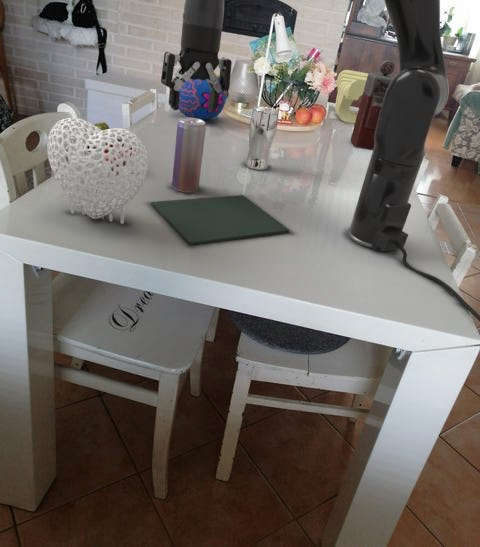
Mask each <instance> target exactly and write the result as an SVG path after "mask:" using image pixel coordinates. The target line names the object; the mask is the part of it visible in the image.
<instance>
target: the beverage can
mask: <svg viewBox="0 0 480 547" xmlns="http://www.w3.org/2000/svg"><path fill="white" fill-rule="evenodd" d="M206 129H207V128H206V121H205V120H204V121H203V120H200V119H196V118H190V117H187V116H184V117H182V116H181V117H179V118H178V122H177V123H176V135H175V146H174V156H173V157H174V158H173V166H172V167H173V168H172V180H171V185H172V187H173V189H174V190H175V191H177V192H180V193H185V194H192V193H196V192H197V191H198V190H199V188H200V180H201V171H202V163H203V154H204V146H205V138H206Z"/></svg>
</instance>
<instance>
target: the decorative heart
mask: <svg viewBox="0 0 480 547" xmlns="http://www.w3.org/2000/svg"><path fill="white" fill-rule="evenodd" d="M115 131H117V132H115ZM77 134H78V135H77ZM117 134H119V135H117ZM65 137H66V138H65ZM107 138H108V139H107ZM117 139H122V142H118V141H117ZM60 140H61V142H60ZM74 140H76V141H77V142H75V141H74ZM81 140H83V141H84V142H82V141H81ZM106 143H108V145H107V146H106ZM46 144H47V145H46V151H47V152H46V153H47V157H48V162H49V166H50V168H51V171H52V173H53V175H54V177H55V180H56V182H57V183H58V185H59V186H60V187H61V189H62V191H63V192H64V193H65V195H66V196H67V197H68V198H69V200H70V214H73V215H74V214H75V205H76V206H77V207H78V208H79V209H80V211H81V215H82V216H85V215H87V216H88V217H90V218H91V219H94V220H99V219H102V220H104V217H106V216H108V221H109V222H113V216H114V215H113V214H112V213H115V212H116V211H118V210H120V224H122V225H124V223H125V210H124V208H123V207H125V206H126V205H127V204H129V203H130V202H131V201H132V200H133V199H134V198H135V197H136V196H137V195H138V194H139V192H140V190H141V188H143V185H144V183H145V181H146V179H147V175H148V171H149V155H148V152H147V148H146V146H145V145H144V143H143V142H142V140H141V139H140V138H139V137H138V135H136V134H135V133H133V131H131V130H128V129H125V128H122V127H121V128H120V127H112V128H110V129H107V130H104V131H102V130H101V129H99V128H98V127H96V126H95V125H94V124H93V123H92V122H89V121H87V120H85V119H83V118H79V117H68V118H62V119H60V120H58V121H57V122H56V123H55V124H54V125H53V126H52V127H51V129H50V130H49V134H48V137H47V142H46ZM122 144H124V146H123V147H122ZM110 145H113V147H110ZM115 145H116V146H115ZM80 147H82V148H83V149H81V148H80ZM88 147H89V148H88ZM129 147H130V148H131V147H132V150H129V149H130V148H129ZM105 149H106V150H109V152H108V153H107V154H105V153H104V151H105ZM126 150H127V153H126V152H125V151H126ZM135 150H136V152H135ZM115 151H116V152H115ZM119 152H121V153H120V154H118V153H119ZM84 153H85V154H86V156H85V155H84ZM130 153H132V154H131V155H133V157H132V156H131V157H130ZM122 155H124V156H123V157H122ZM97 156H98V157H99V159H98V158H97ZM125 156H126V158H125ZM118 157H119V158H120V159H119V158H118ZM106 158H107V159H109V161H106ZM114 158H115V159H116V161H115V160H114ZM111 161H112V163H113V164H111ZM125 161H126V163H125V164H124V165H123V162H125ZM117 164H118V165H119V167H117V166H116V165H117ZM111 168H113V170H114V171H113V170H112V169H111ZM117 173H118V175H117ZM91 179H92V180H93V181H94V184H92V182H91ZM105 181H106V182H105ZM98 191H99V192H98ZM83 201H85V203H84V202H83ZM100 202H101V203H100Z"/></svg>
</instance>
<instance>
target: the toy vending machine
mask: <svg viewBox="0 0 480 547" xmlns="http://www.w3.org/2000/svg"><path fill="white" fill-rule="evenodd" d="M379 71H380V73H379V72H378V73H377V72H369V73H368V77H367V80H366V84H365V88H364V91H363V95H362V96H361V99H360V103H359V107H358V111H357V117H356V121H355V123H354V124H353V128H352V132H351V136H350V140H349V141H350V143H351V144H352V146H353V147H354V148H357V149H364V150H370V151H373V149H374V145H375V140H374V136H375V130H376V126H377V122H378V118H379V115H380V111H381V107H382V103H383V100H384V96H385V94H386V91H387V88H388V86H389V84H390V83H391V81H392V80H393V78H394V77H395V76H393V75H391V74H393V73H394V71H395V64H394V62H392V60H387V59H386V60H384V61H382V62H381V63H380V65H379Z"/></svg>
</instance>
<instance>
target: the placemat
mask: <svg viewBox="0 0 480 547" xmlns="http://www.w3.org/2000/svg"><path fill="white" fill-rule="evenodd" d="M150 205H151V206H152V207H153V209H155V210H156V211H157V213H158V214H160V216H161V217H162V218H163V219H164V220H165V221H166V222H167V223H168V224H169V225H170V227H172V228H173V229H174V231H175V232H177V234H179V236H181V238H182V239H183V240H184V241H185V242H186V243H187V244H188V245H189V246H195V245H196V246H197V245H201V244H202V245H203V244H209V243H219V242H225V241H226V242H227V241H233V240H242V239H249V238H257V237H265V236H272V235H281V234H288V233H290V229H289V228H288V227H287V226H285V225H284V224H282V223H281V222H280V221H279V220H277V219H276V218H274V217H273V216H272V215H270V214H269V213H267V212H266V211H265V210H263V209H262V208H261V207H259V206H258V205H257V204H256V203H254V202H253V201H252V200H250V199H249V198H248V197H247V196H245V195H243V194H238V195H228V196H227V195H226V196H215V197H214V196H212V197H211V196H210V197H200V198H197V197H196V198H185V199H173V200H171V199H170V200H160V201H158V200H157V201H151V202H150Z"/></svg>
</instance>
